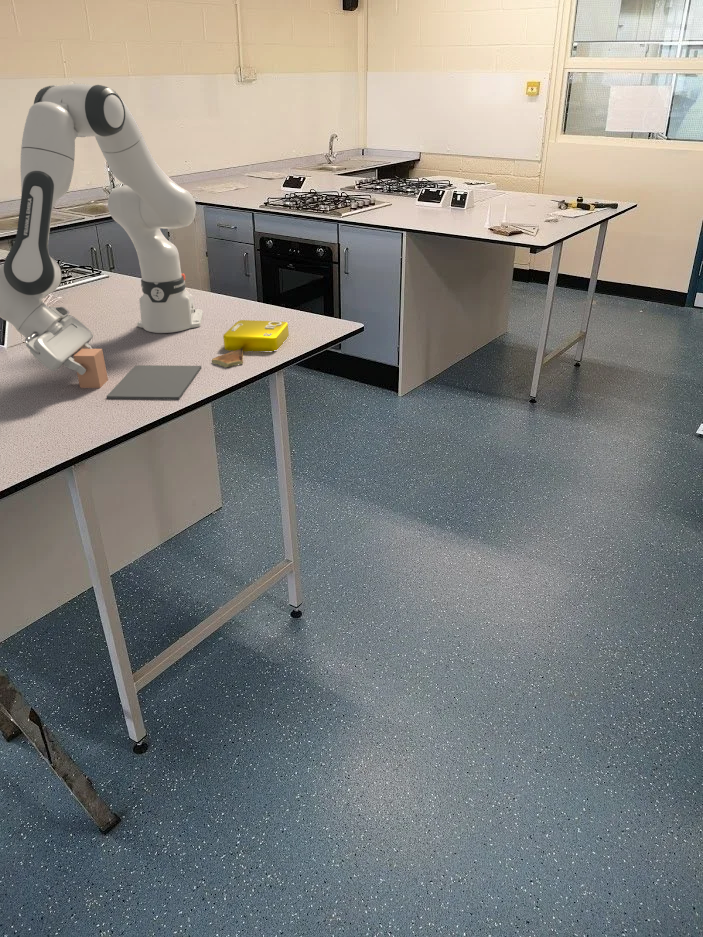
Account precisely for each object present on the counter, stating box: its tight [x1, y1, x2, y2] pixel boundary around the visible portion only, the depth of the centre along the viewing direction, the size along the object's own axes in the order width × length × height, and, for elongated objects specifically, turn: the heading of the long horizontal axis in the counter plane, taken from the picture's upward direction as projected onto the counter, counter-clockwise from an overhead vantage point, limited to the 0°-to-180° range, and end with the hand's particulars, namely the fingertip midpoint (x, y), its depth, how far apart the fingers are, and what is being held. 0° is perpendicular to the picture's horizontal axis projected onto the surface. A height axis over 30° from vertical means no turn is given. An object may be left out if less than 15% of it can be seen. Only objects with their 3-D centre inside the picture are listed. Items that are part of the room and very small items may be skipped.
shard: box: [211, 348, 244, 368], centre depth 187 cm, size 11×8×2 cm
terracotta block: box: [72, 348, 109, 389], centre depth 172 cm, size 5×5×8 cm
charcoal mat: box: [106, 364, 202, 400], centre depth 174 cm, size 20×17×1 cm
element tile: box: [222, 319, 290, 352], centre depth 198 cm, size 15×15×5 cm
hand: (91, 366), depth 172 cm, fingers open, 6 cm apart
